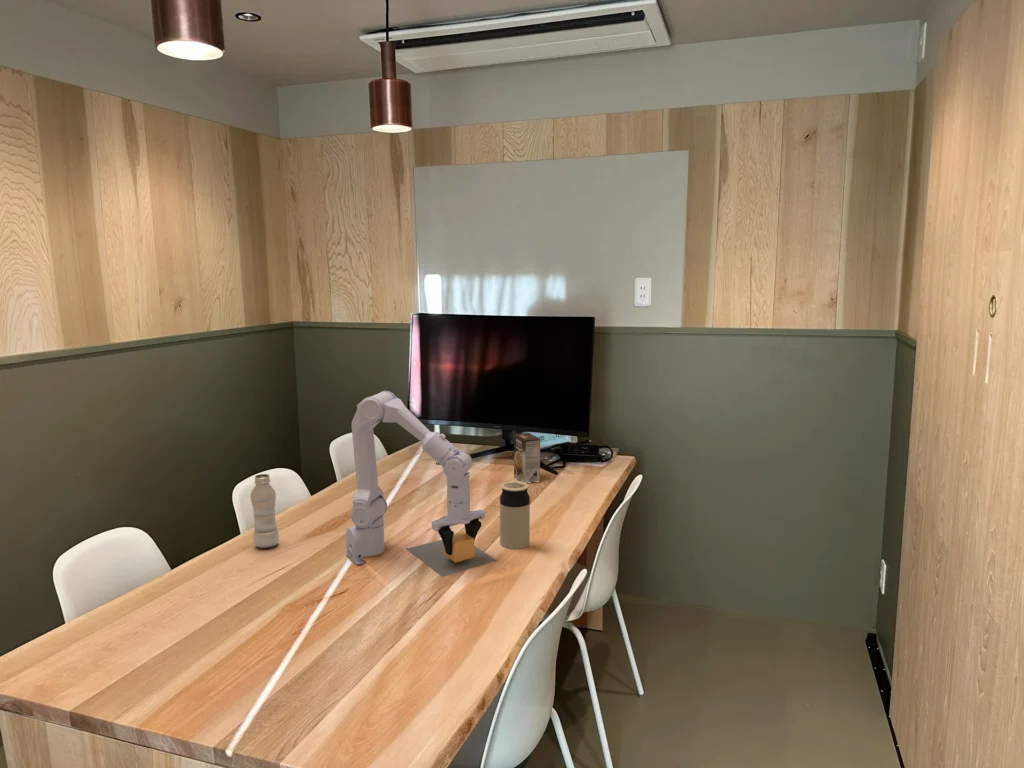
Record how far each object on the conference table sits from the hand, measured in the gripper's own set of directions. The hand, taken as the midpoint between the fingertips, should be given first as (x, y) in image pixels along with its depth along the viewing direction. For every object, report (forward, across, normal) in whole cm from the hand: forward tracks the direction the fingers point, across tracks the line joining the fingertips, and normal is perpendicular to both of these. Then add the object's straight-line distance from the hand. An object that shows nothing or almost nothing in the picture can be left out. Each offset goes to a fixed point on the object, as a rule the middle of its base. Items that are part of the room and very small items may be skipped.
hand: (459, 550), depth 177 cm
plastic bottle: (+4, -37, +41) cm, 55 cm away
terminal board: (+4, 0, +4) cm, 6 cm away
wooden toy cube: (+1, 0, 0) cm, 1 cm away
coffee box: (+4, +56, +48) cm, 74 cm away
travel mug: (+4, +18, +1) cm, 19 cm away
